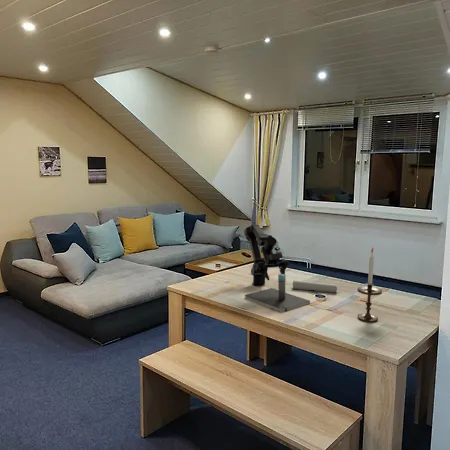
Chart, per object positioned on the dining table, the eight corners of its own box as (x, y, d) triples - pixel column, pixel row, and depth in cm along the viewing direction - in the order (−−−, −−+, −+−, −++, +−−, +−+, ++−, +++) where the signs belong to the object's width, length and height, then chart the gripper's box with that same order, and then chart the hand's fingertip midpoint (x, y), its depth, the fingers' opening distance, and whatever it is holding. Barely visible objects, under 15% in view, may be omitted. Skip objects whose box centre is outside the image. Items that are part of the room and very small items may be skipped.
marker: (277, 299, 220) (277, 275, 218) (279, 297, 224) (278, 273, 222) (284, 300, 219) (284, 276, 217) (286, 298, 223) (286, 274, 221)
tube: (337, 284, 242) (294, 280, 249) (337, 284, 237) (293, 279, 244) (337, 293, 241) (293, 289, 248) (336, 293, 236) (292, 288, 243)
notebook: (310, 304, 220) (271, 291, 242) (310, 300, 220) (271, 287, 241) (282, 313, 207) (243, 298, 228) (282, 309, 206) (243, 294, 228)
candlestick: (381, 324, 193) (387, 249, 188) (357, 322, 195) (361, 248, 190) (377, 315, 203) (382, 244, 198) (354, 314, 205) (358, 243, 200)
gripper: (257, 248, 226) (265, 273, 217) (288, 246, 232) (297, 270, 224) (251, 259, 234) (259, 283, 226) (281, 256, 241) (289, 280, 232)
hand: (276, 279), depth 227 cm, fingers open, 9 cm apart
